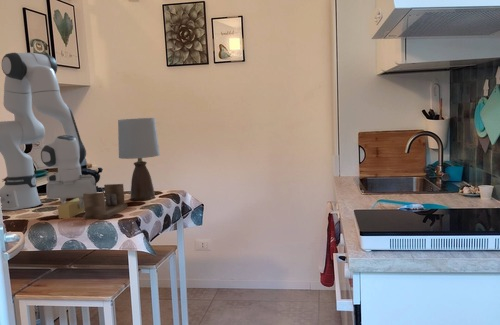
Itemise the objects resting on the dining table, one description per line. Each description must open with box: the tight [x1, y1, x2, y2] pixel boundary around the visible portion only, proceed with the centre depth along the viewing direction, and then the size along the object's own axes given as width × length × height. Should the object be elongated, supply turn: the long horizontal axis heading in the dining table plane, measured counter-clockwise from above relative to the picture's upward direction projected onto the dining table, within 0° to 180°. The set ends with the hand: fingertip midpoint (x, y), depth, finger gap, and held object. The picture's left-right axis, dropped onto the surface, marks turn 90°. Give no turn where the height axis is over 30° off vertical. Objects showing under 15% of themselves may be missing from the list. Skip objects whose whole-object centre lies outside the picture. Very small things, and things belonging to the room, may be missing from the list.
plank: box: [57, 198, 85, 220], centre depth 192 cm, size 4×16×5 cm, turn 174°
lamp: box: [117, 117, 161, 201], centre depth 217 cm, size 19×19×37 cm
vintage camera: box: [72, 158, 105, 200], centre depth 225 cm, size 10×16×20 cm, turn 80°
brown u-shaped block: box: [82, 183, 128, 220], centre depth 190 cm, size 10×20×10 cm, turn 174°
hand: (73, 208), depth 192 cm, fingers closed on plank, 4 cm apart
